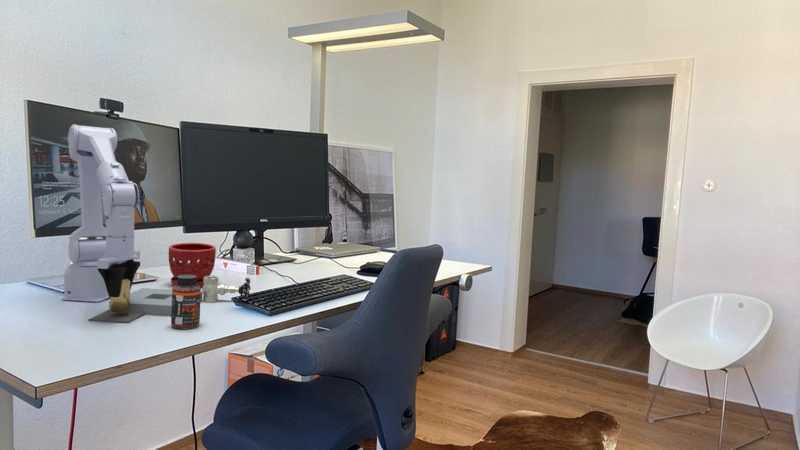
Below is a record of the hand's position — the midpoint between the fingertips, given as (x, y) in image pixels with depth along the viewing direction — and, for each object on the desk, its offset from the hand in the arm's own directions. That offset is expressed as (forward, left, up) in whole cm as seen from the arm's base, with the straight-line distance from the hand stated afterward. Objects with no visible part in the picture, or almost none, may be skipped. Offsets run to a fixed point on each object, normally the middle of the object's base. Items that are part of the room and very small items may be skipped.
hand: (119, 294), depth 122 cm
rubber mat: (0, 0, -5) cm, 5 cm away
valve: (+18, +20, -6) cm, 27 cm away
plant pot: (+2, +37, -6) cm, 37 cm away
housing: (+4, +11, -5) cm, 13 cm away
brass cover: (0, 0, -4) cm, 4 cm away
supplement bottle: (+17, -4, -5) cm, 18 cm away
